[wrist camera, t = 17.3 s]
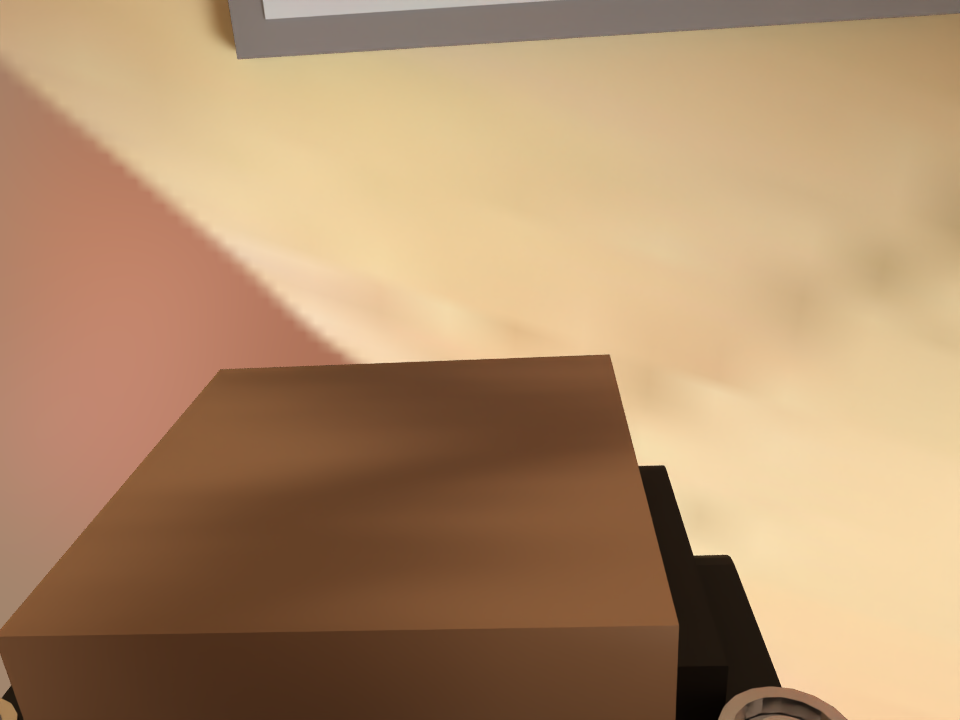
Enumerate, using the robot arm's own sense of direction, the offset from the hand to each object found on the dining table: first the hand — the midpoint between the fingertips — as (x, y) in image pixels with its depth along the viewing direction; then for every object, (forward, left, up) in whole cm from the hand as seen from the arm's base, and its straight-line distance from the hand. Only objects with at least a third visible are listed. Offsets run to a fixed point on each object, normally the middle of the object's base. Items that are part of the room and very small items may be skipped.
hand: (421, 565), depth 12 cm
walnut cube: (0, 0, -1) cm, 1 cm away
